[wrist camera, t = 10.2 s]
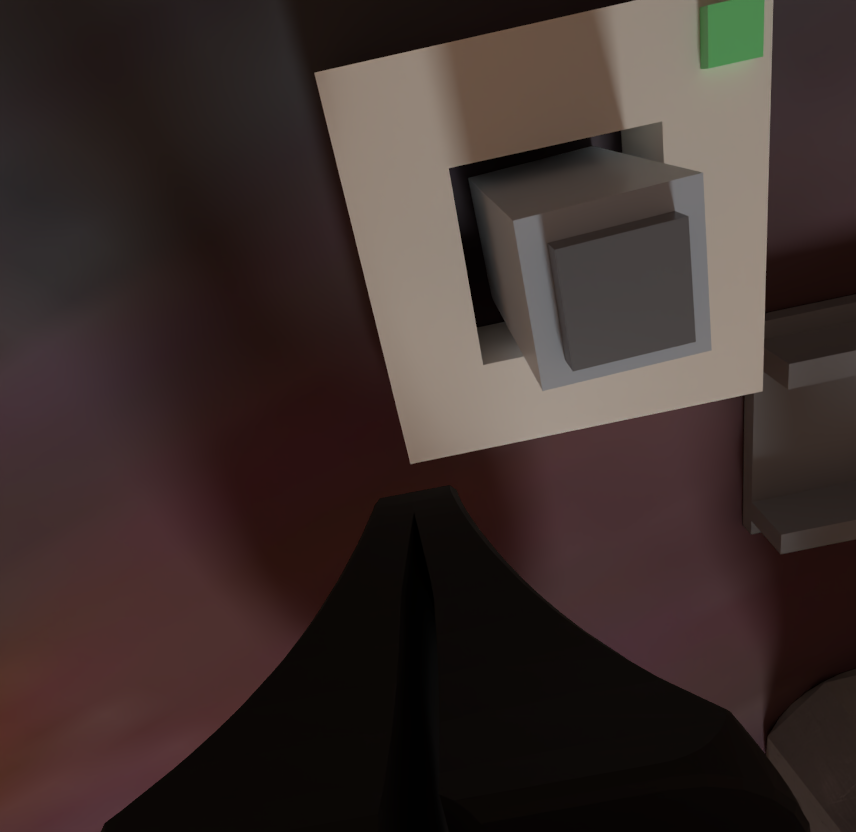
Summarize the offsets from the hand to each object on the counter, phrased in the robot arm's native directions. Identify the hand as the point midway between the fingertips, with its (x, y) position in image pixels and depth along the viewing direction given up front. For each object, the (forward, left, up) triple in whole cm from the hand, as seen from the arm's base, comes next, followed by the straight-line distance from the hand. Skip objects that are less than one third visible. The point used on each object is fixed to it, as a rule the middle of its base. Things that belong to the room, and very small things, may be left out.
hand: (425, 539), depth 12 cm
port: (+3, -5, -10) cm, 11 cm away
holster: (-5, -14, -10) cm, 18 cm away
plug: (+3, -5, -10) cm, 11 cm away
